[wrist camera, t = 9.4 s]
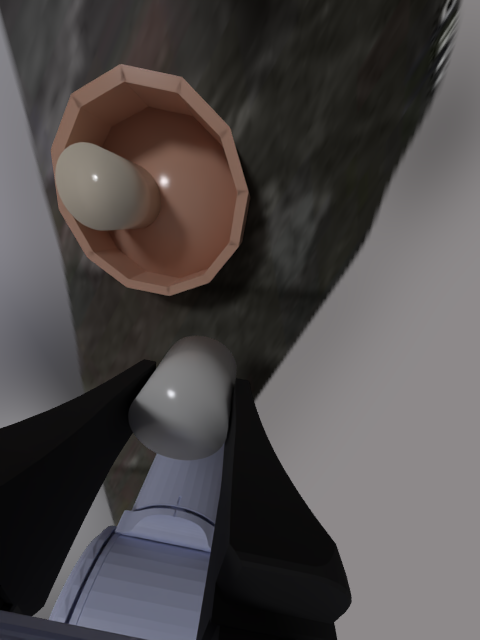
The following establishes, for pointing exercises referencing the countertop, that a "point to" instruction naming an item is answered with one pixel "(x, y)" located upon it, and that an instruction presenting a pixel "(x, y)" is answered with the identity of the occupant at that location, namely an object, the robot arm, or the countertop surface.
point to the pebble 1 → (106, 189)
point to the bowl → (161, 178)
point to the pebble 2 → (186, 400)
